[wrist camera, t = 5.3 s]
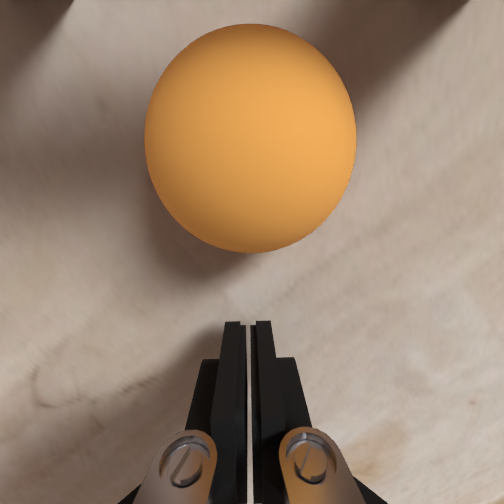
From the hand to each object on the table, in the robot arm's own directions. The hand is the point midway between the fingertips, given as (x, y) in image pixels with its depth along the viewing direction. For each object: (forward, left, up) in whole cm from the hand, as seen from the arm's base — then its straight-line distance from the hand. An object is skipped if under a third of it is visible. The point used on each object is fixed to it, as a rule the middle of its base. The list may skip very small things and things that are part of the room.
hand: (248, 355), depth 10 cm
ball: (0, +7, +1) cm, 7 cm away
